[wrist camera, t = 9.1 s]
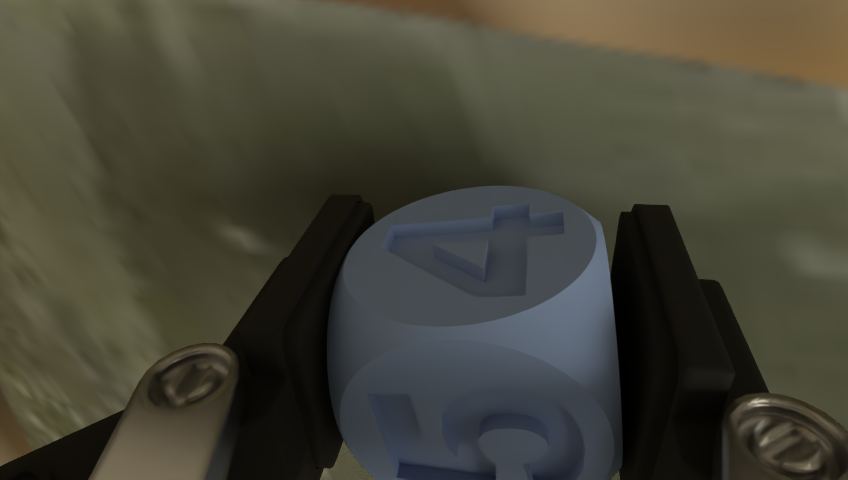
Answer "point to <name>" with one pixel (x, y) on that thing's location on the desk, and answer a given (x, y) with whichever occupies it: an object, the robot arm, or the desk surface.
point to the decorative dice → (478, 341)
